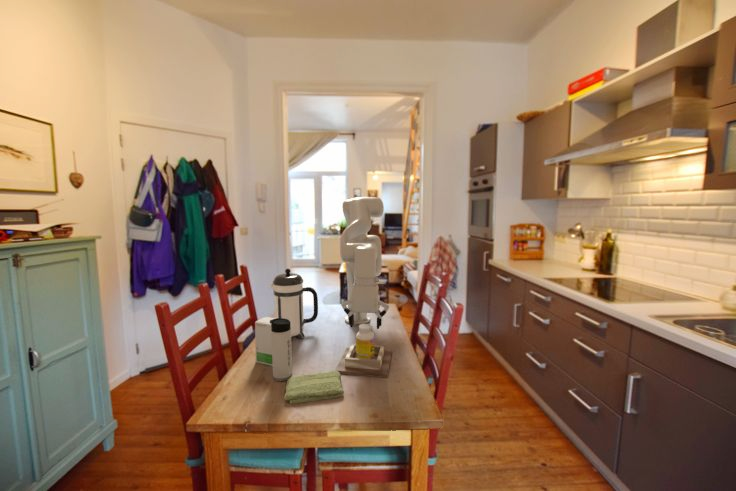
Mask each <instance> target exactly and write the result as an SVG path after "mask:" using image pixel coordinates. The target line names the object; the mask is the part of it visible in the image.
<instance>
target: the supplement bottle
mask: <svg viewBox="0 0 736 491" xmlns="http://www.w3.org/2000/svg"><path fill="white" fill-rule="evenodd" d="M372 328H373V326H372V325H371V324H369V323H365V324H358V332H357V333H356V334H355V344H356V358H362V359H374V345H375V334H374V332H373V331H372Z"/></svg>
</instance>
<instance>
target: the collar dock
mask: <svg viewBox="0 0 736 491" xmlns="http://www.w3.org/2000/svg"><path fill="white" fill-rule="evenodd" d="M392 354H393V350H386V349H385V346H384V345H377V344H374V359H362V358H356V343H352V344H351V345H350V346H349V347H345V350H344V352H343V354H342V356H341V358H340V360H339V362H338V364H337V365H336V368H335V369H334V371H338V372H339V373H340V375H351V376H352V375H353V376H354V375H355V376H365V377H366V376H367V377H376V378H377V377H378V378H388V376H389V370H390V365H391V360H392Z"/></svg>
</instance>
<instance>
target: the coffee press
mask: <svg viewBox="0 0 736 491" xmlns="http://www.w3.org/2000/svg"><path fill="white" fill-rule="evenodd" d="M284 272H285V273H281V274H278V275H276V276H275V277H274V278H273V281H272V283H271V285H270V286H269V289H273V296H274V298H273V299H274V300H273V301H274V318H284V319H288V320H289V321H290V327H291V338H292V337H296V336H298V337H299V339H304V338H305V336H306V335H305V333H304V332H303V331H304V330H305V329H304V328H305V327H304V325H305V324H309V323H312V322H314V321H315V320H316V319H317V317H318V314H319V303H318V301H319V298H318V297H319V296H318V293H317V292H316V290H315V288H313V287H308V286H306V287H304V286H303V283H304V279H303V277H302V276H301V275H300V274H298V273H292V272H291V269H290V268H286V269H285V270H284ZM304 292H310V293H311V294H312V295H313V297H312V298H313V315H312V316H311V317H309V318H304Z"/></svg>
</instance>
